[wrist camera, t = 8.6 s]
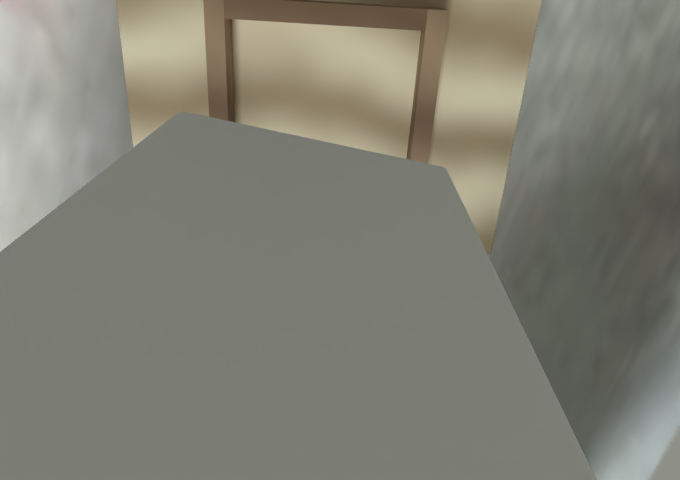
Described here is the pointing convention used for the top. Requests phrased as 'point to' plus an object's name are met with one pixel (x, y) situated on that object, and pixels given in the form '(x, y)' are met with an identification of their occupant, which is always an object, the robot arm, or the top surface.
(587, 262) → the top surface
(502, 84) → the jig
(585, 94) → the top surface
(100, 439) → the milk carton
